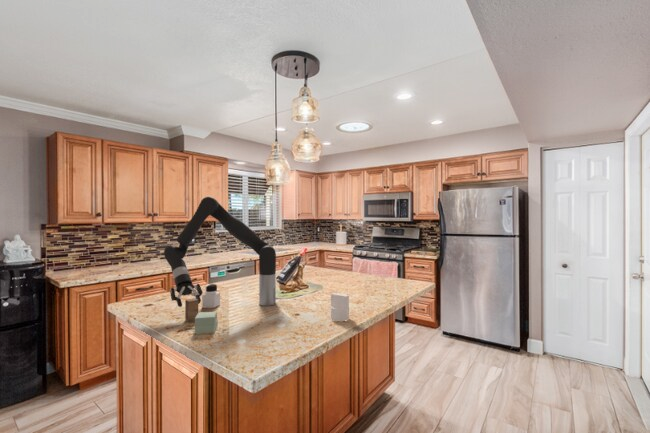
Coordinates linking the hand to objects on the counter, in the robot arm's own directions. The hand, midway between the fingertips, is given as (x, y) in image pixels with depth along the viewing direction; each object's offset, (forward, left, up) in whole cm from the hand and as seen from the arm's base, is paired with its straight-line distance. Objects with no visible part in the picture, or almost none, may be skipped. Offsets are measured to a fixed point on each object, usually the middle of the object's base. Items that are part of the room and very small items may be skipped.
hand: (190, 304), depth 152 cm
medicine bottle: (-5, -22, -8) cm, 24 cm away
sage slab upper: (-11, +15, -4) cm, 19 cm away
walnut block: (-1, +2, -7) cm, 8 cm away
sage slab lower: (-11, +15, -8) cm, 20 cm away
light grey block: (-72, +10, -8) cm, 73 cm away
